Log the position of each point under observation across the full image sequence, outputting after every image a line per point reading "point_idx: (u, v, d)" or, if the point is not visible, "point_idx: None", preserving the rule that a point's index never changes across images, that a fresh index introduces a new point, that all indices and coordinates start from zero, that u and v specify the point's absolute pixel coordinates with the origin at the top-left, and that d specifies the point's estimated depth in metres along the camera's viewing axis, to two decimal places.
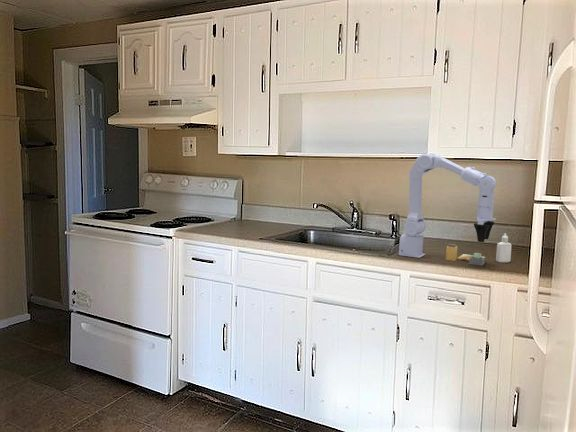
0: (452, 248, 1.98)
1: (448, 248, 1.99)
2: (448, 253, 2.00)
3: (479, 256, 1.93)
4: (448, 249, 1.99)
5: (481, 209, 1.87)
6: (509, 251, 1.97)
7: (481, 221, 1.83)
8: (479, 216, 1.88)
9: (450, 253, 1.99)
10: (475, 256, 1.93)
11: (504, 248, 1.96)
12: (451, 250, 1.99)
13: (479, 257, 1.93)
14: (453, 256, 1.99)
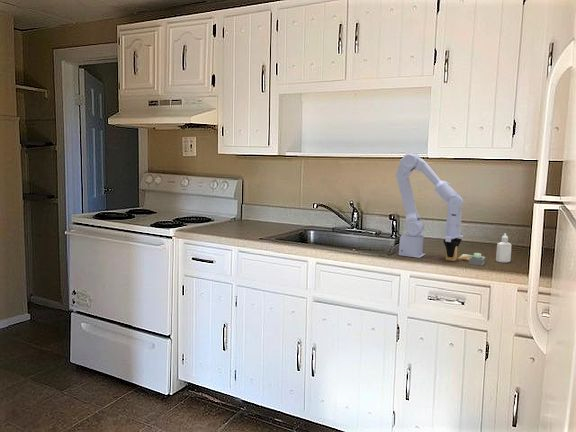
0: None
1: None
2: None
3: (479, 256, 1.93)
4: None
5: (449, 227, 1.97)
6: (509, 251, 1.97)
7: (448, 238, 1.93)
8: (447, 233, 1.98)
9: None
10: (475, 256, 1.93)
11: (504, 248, 1.96)
12: None
13: (479, 257, 1.93)
14: (453, 256, 1.99)
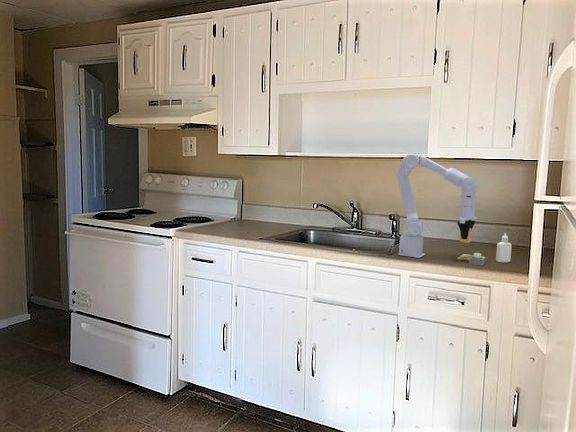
0: None
1: None
2: None
3: (479, 256, 1.93)
4: None
5: (463, 208, 1.97)
6: (509, 251, 1.97)
7: (463, 220, 1.93)
8: (461, 215, 1.98)
9: None
10: (475, 256, 1.93)
11: (504, 248, 1.96)
12: None
13: (479, 257, 1.93)
14: (467, 238, 1.99)
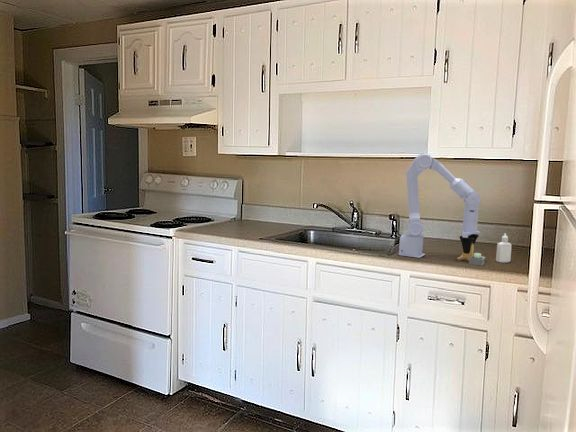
0: None
1: None
2: None
3: (479, 256, 1.93)
4: None
5: (466, 223, 1.99)
6: (509, 251, 1.97)
7: (466, 234, 1.95)
8: (464, 229, 1.99)
9: None
10: (475, 256, 1.93)
11: (504, 248, 1.96)
12: None
13: (479, 257, 1.93)
14: (469, 254, 2.00)
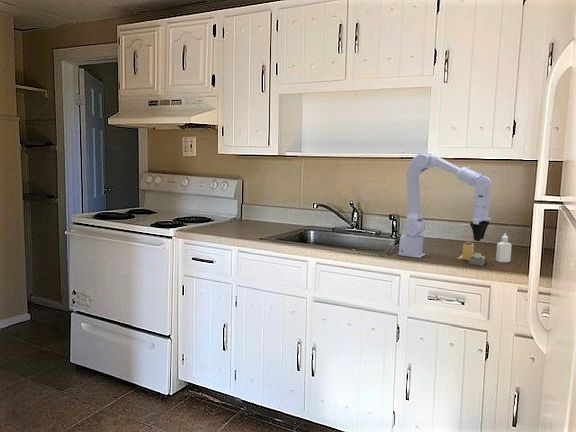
0: (469, 246, 2.00)
1: (465, 246, 2.01)
2: (464, 251, 2.01)
3: (479, 256, 1.93)
4: (465, 247, 2.01)
5: (477, 209, 1.90)
6: (509, 251, 1.97)
7: (477, 221, 1.86)
8: (475, 216, 1.90)
9: (466, 251, 2.01)
10: (475, 256, 1.93)
11: (504, 248, 1.96)
12: (468, 248, 2.00)
13: (479, 257, 1.93)
14: (469, 254, 2.00)
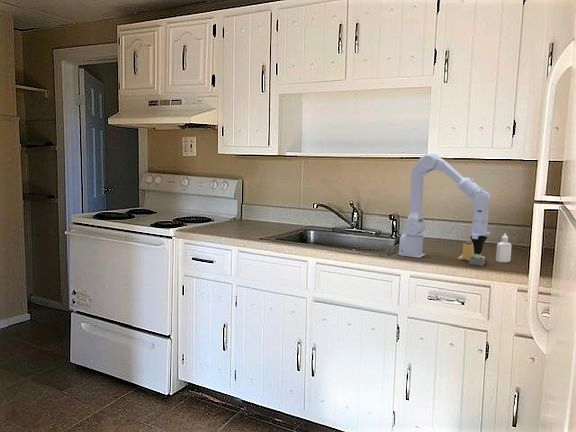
0: (469, 246, 2.00)
1: (465, 246, 2.01)
2: (464, 251, 2.01)
3: (479, 256, 1.93)
4: (465, 247, 2.01)
5: (476, 223, 1.90)
6: (509, 251, 1.97)
7: (475, 235, 1.86)
8: (474, 230, 1.91)
9: (466, 251, 2.01)
10: (475, 256, 1.93)
11: (504, 248, 1.96)
12: (468, 248, 2.00)
13: (479, 257, 1.93)
14: (469, 254, 2.00)
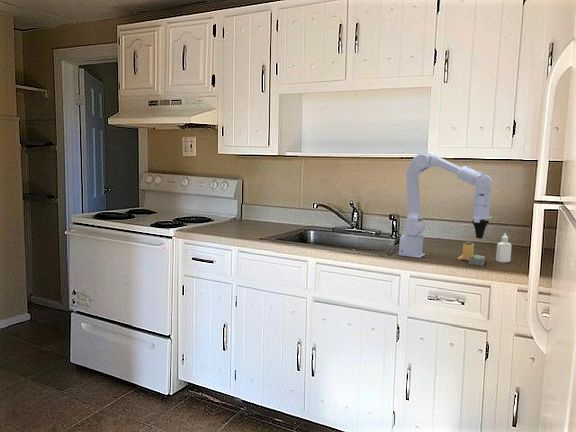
0: (469, 246, 2.00)
1: (465, 246, 2.01)
2: (464, 251, 2.01)
3: (479, 258, 1.93)
4: (465, 247, 2.01)
5: (477, 207, 1.90)
6: (509, 251, 1.97)
7: (477, 219, 1.86)
8: (475, 214, 1.91)
9: (466, 251, 2.01)
10: (475, 258, 1.93)
11: (504, 248, 1.96)
12: (468, 248, 2.00)
13: None
14: (469, 254, 2.00)
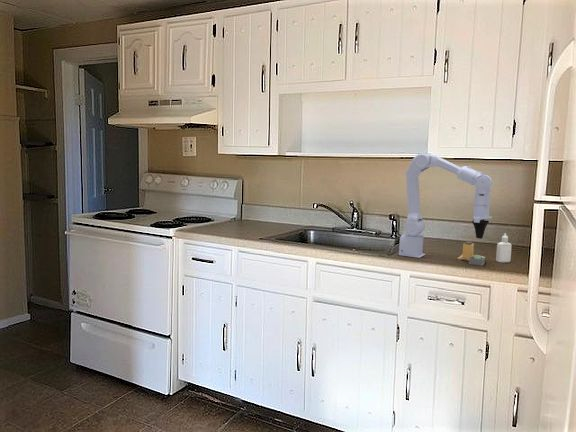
0: (469, 246, 2.00)
1: (465, 246, 2.01)
2: (464, 251, 2.01)
3: (479, 258, 1.93)
4: (465, 247, 2.01)
5: (477, 207, 1.90)
6: (509, 251, 1.97)
7: (477, 219, 1.86)
8: (475, 214, 1.91)
9: (466, 251, 2.01)
10: (475, 258, 1.93)
11: (504, 248, 1.96)
12: (468, 248, 2.00)
13: None
14: (469, 254, 2.00)
